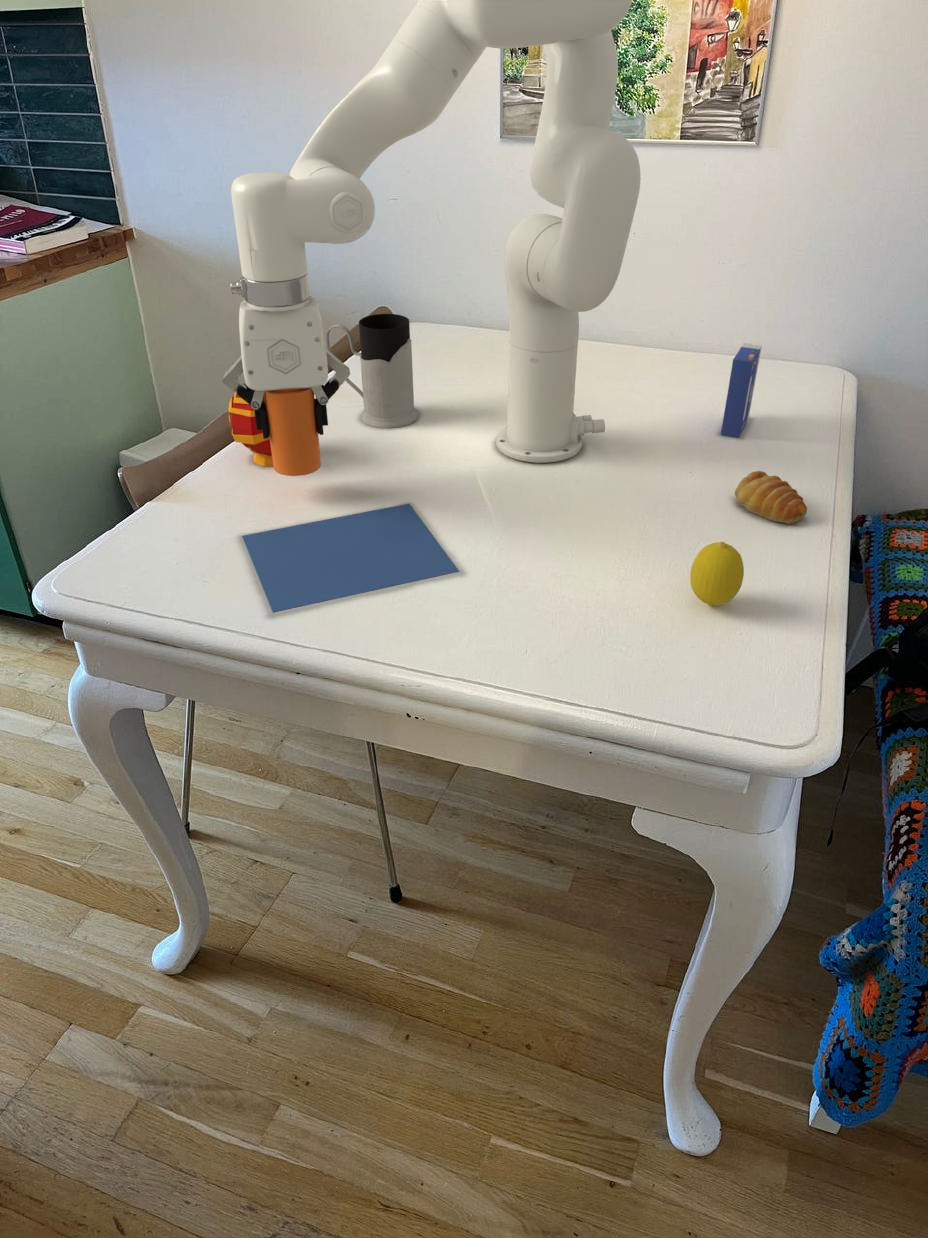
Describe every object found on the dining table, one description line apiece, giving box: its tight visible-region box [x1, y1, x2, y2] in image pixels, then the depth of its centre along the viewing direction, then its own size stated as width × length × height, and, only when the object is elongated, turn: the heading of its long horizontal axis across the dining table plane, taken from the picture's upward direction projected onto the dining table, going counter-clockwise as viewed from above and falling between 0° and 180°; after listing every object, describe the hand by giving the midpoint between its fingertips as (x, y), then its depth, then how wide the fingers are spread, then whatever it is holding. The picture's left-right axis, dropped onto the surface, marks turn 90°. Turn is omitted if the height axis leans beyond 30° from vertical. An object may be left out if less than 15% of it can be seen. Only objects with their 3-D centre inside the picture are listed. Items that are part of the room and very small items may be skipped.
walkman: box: [720, 342, 762, 439], centre depth 138 cm, size 8×3×12 cm, turn 155°
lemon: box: [689, 541, 745, 607], centre depth 100 cm, size 6×6×8 cm
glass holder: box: [325, 313, 418, 429], centre depth 142 cm, size 9×14×15 cm, turn 71°
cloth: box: [241, 503, 460, 613], centre depth 111 cm, size 22×18×1 cm
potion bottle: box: [227, 389, 273, 467], centre depth 129 cm, size 10×10×15 cm
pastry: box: [734, 470, 808, 525], centre depth 119 cm, size 9×7×4 cm
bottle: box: [264, 388, 322, 477], centre depth 117 cm, size 6×6×17 cm
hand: (293, 431), depth 119 cm, fingers closed on bottle, 6 cm apart
